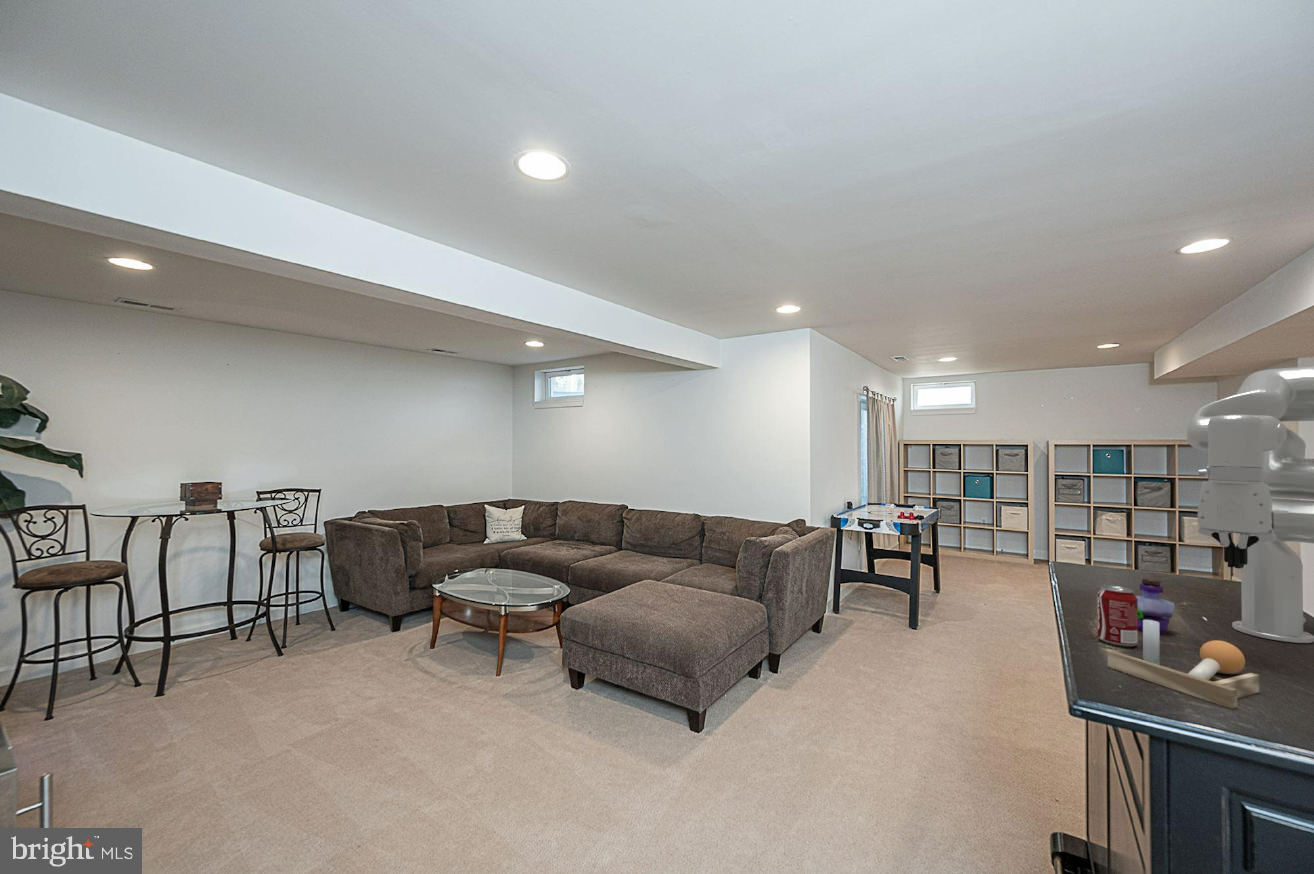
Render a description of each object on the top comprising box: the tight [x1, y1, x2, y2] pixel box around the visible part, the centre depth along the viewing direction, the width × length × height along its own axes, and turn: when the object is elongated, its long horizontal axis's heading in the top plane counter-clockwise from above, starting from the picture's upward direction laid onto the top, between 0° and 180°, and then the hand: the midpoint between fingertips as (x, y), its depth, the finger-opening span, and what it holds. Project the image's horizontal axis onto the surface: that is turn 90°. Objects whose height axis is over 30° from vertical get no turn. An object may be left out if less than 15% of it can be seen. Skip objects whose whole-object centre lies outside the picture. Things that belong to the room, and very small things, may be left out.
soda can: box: [1096, 584, 1139, 648], centre depth 119 cm, size 7×7×12 cm
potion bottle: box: [1135, 577, 1176, 635], centre depth 128 cm, size 9×9×12 cm
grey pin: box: [1142, 620, 1161, 666], centre depth 107 cm, size 2×2×8 cm
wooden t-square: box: [1107, 650, 1260, 710], centre depth 99 cm, size 13×18×3 cm
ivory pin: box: [1187, 658, 1220, 680], centre depth 99 cm, size 2×2×8 cm
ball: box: [1199, 639, 1246, 675], centre depth 103 cm, size 6×6×6 cm
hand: (1235, 566), depth 109 cm, fingers closed
